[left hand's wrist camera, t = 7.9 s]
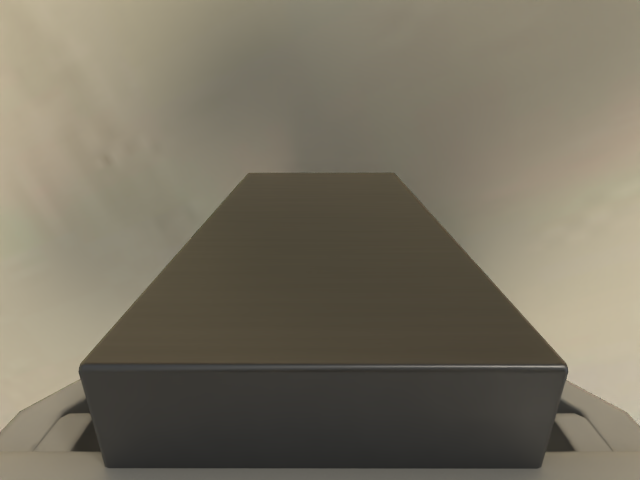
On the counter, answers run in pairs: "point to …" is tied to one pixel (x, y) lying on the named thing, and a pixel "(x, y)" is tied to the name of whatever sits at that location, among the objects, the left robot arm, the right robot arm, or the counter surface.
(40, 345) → the counter surface
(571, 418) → the left robot arm
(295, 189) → the box
